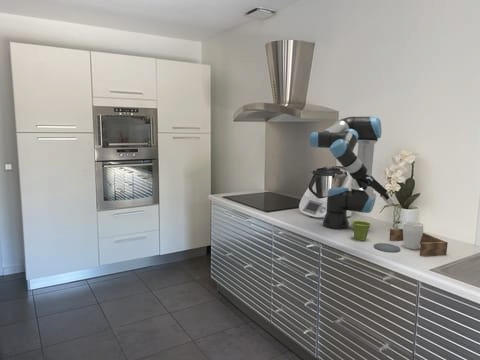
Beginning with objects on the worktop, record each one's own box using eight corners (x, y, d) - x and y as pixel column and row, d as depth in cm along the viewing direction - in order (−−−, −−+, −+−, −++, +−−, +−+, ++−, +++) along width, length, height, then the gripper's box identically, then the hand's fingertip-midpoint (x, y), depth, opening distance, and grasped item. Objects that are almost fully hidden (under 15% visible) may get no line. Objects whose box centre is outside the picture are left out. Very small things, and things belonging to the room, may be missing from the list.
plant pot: (370, 238, 188) (371, 222, 187) (368, 243, 179) (369, 226, 178) (352, 235, 192) (353, 220, 191) (349, 240, 183) (350, 223, 182)
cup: (423, 251, 169) (425, 226, 167) (402, 248, 171) (404, 225, 170) (419, 245, 177) (421, 222, 176) (400, 243, 180) (402, 220, 178)
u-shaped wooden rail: (420, 256, 162) (422, 243, 161) (389, 240, 185) (390, 229, 184) (446, 254, 164) (447, 242, 164) (411, 239, 188) (412, 228, 187)
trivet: (373, 243, 179) (373, 242, 179) (398, 246, 175) (398, 245, 175) (374, 250, 168) (374, 249, 168) (401, 253, 164) (401, 252, 164)
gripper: (337, 171, 173) (362, 201, 178) (364, 177, 149) (392, 212, 154) (348, 160, 174) (373, 190, 178) (376, 165, 149) (404, 200, 154)
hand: (382, 200), depth 166 cm, fingers open, 13 cm apart
